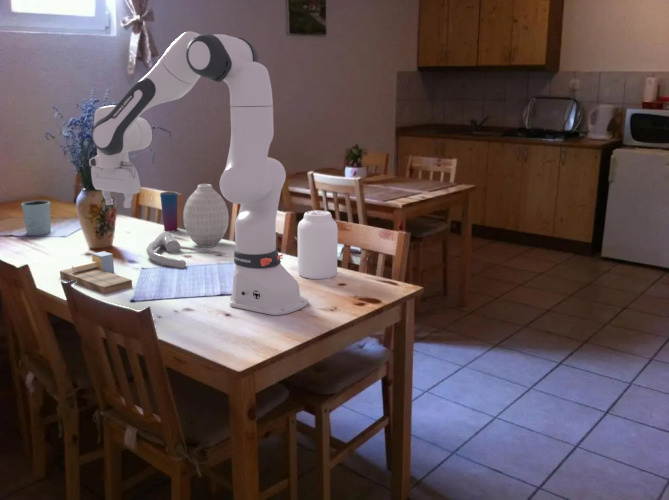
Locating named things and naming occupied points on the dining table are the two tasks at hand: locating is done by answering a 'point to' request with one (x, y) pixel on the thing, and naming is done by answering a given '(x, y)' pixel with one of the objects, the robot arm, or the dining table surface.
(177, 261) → the faucet
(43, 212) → the pale blue tumbler
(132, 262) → the dining table surface
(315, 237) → the white jar
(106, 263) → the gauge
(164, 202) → the cup
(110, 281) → the board
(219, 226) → the vase
